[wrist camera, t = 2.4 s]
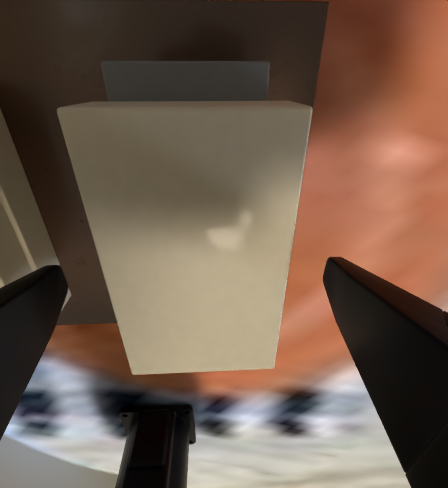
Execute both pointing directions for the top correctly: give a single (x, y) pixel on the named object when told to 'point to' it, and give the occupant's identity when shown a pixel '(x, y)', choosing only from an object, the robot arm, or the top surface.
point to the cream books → (20, 219)
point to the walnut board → (93, 90)
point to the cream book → (192, 223)
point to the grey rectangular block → (186, 80)
